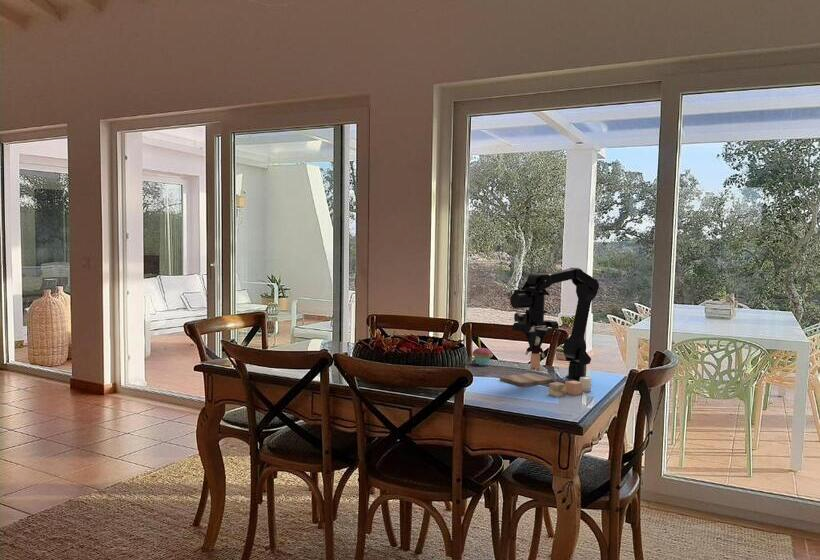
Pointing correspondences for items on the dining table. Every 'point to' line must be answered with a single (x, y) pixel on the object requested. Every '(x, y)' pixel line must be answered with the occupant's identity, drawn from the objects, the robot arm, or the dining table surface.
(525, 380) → the walnut board
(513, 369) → the dining table surface
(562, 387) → the beech block
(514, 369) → the dining table surface
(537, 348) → the grandmother figurine
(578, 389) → the terracotta block
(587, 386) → the off-white cylinder
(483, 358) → the cupcake
